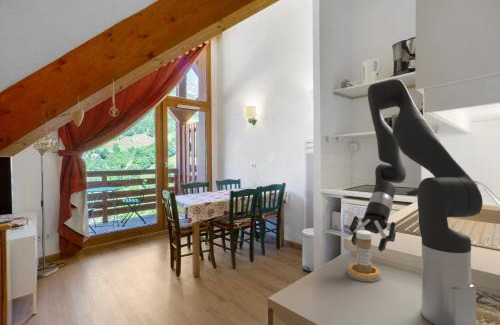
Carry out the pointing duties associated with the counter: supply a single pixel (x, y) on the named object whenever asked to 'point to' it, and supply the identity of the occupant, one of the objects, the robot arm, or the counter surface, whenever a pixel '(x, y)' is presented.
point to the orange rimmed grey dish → (363, 277)
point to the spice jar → (364, 251)
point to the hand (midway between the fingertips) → (366, 247)
